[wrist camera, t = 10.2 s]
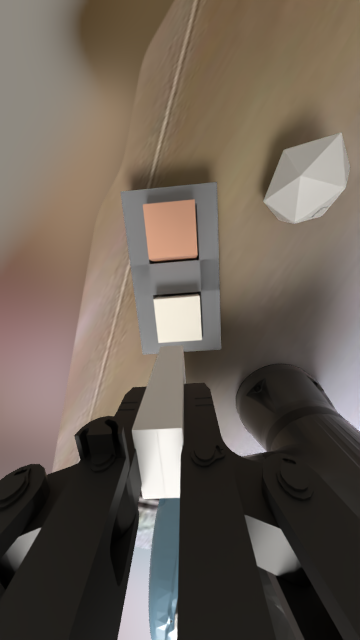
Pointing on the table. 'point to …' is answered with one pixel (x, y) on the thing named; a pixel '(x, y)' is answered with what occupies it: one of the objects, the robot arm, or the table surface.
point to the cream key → (178, 317)
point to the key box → (175, 264)
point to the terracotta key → (171, 231)
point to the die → (308, 179)
